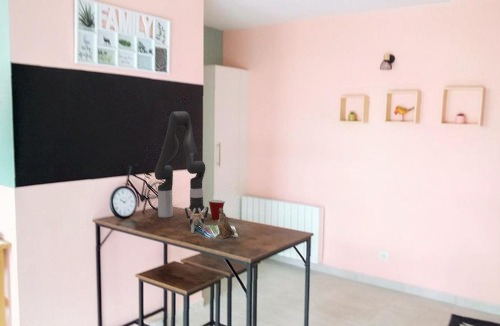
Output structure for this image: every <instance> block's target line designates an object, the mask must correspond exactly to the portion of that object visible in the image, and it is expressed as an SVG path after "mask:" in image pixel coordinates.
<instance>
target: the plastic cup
mask: <svg viewBox="0 0 500 326" xmlns="http://www.w3.org/2000/svg"><path fill="white" fill-rule="evenodd" d="M225 203H226V200H222V199H208V204H209V210H210V211H209V212H210V215H211V220H214V221H218V219H219V213H220V211H219V209H220V208H222V209H223V210H224V205H225Z"/></svg>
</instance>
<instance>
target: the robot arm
mask: <svg viewBox="0 0 500 326" xmlns="http://www.w3.org/2000/svg"><path fill="white" fill-rule="evenodd" d="M177 128H183V129H184V131H185V135H184V138H183V139H184V140H183V144H182V147H183V150H184V154H185V158H186V159H185V160H186V170H187V172H188V173H189V174H190V175H191V174H192V175H193V174H195V176H194V177H192V178H190V179H189V180H190V182H189V186H190V190H189V207H184V212H185V216H186V218H187V219H189V224H190V226H191V224H192V222H193V219H192V217H193V215H194V214H196V213H198V214H200V220H201V221H202V222H203V223H204V224H205V218H207V217H208V215H209V214H208V213H209V210H210V207H208V206H205V205H204V187H203V182H204V181H203V180H204V177H205V173H206V164H205V162H204V161H203V160H194V159H196V158H198V157H199V153H198V149H197V147H196V146H197V145H196V142H195V138H194V134H193V126H192V121H191V117H190V114H189V112H188V111H184V110H181V111H176V110H175V111H172V112H171V113H170V115H169V120H168V123H167V130H166V134H165V138H164V141H163V145H162V147H161V152H160V156H159V158H158V161H157V163H156V166H155V168H154V178H155V179H156V180H157V181H163V183H161V184H159V185H158V186H157V213H158V214H157V215H158V216H157V217H158V218H171V217H173V214H174V212H173V209H174V208H173V186H174V185H173V184H174V169H173V167H172V165H169V164H168V163H169V162H170V161H171V160H172V159H173V158H174V157H175V156H176V155H177V152H178V149H179V145H180V142H179V140H178V137H177V135H176V131H177ZM203 210H204V211H205V212H204V214H203ZM189 211H190V215H189ZM191 211H192V212H191Z"/></svg>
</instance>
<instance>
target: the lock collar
mask: <svg viewBox="0 0 500 326" xmlns="http://www.w3.org/2000/svg"><path fill="white" fill-rule="evenodd" d="M191 212H192V211H191V210H190V213H191ZM193 216H198V218H199V219H200V220H201V215H200V214H198V213H196V214H194V215H193ZM192 219H193V217H192Z"/></svg>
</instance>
